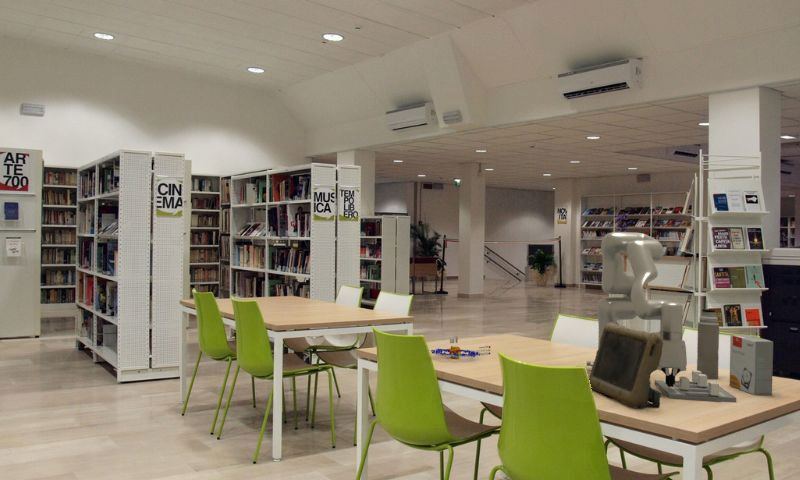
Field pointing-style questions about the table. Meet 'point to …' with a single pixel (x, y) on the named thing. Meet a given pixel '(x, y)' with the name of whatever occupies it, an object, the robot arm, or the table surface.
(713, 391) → the breaker
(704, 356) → the thermos bottle
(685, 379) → the block
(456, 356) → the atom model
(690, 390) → the panel
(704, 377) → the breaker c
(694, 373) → the breaker
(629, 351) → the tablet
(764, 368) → the hard drive box
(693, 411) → the table surface
